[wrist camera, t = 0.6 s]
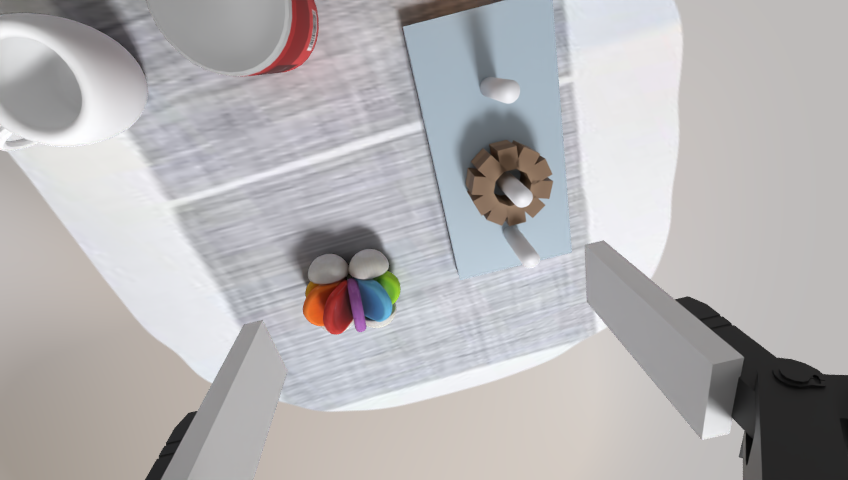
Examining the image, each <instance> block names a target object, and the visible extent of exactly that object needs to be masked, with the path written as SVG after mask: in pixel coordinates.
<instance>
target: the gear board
mask: <svg viewBox="0 0 848 480" xmlns="http://www.w3.org/2000/svg"><path fill="white" fill-rule="evenodd" d="M403 33H404V37H405V41H406V46H407V50H408V55H409V59H410V63H411V68H412V72H413V77H414V81H415V86H416V90H417V94H418V99H419V103H420V108H421V112H422V117H423V121H424V125H425V130H426V134H427V139H428V143H429V147H430V152H431V156H432V161H433V165H434V170H435V174H436V178H437V183H438V187H439V192H440V196H441V200H442V205H443V209H444V214H445V218H446V223H447V227H448V231H449V236H450V240H451V245H452V249H453V253H454V258H455V262H456V267H457V271H458V275H459V278H460V280H463V279H467V278H471V277H475V276H479V275H483V274H487V273H491V272H495V271H499V270H503V269H507V268H511V267H515V266H519V265H523V266H524V267H526V268H533V267H535V266H537V265H538V263H539V261H540V260H544V259H548V258H552V257H556V256H560V255H564V254H568V253H572V248H571V235H570V222H569V209H568V196H567V183H566V170H565V157H564V144H563V131H562V118H561V105H560V92H559V79H558V66H557V52H556V39H555V26H554V13H553V0H504V1H500V2H496V3H492V4H488V5H485V6H481V7H477V8H473V9H469V10H465V11H462V12H458V13H454V14H450V15H446V16H442V17H438V18H435V19H431V20H427V21H423V22H419V23H415V24H412V25H408V26H404V27H403ZM503 140H508V141H509V142H511V143H512V142H513V140H514V141H516V142H519V143H521V144H523V145H526V146H528V147H530V148H531V149H533V150H535V151H536V152H538V153H540V156H542V157H544V158H545V159H546V161H547V163H548V165H549V167H550V170H551V172H552V175H551V176H549V177H548V178H549V179H551V180H552V181H553V185H552V189H551V194H550V198H549V199H543V198H538V199H539V200H541V201H542V202H543V203H544V204H545V206H544V207H543V208H542V209H541V210H540V211H539V212H538V213H537V214H536V215H535V216H534V217H533V218H532V217H531V216H530V215H528V214H527V213H526V212H525V215H526V222H524V223H520V224H516V225H512V226H509V225H508V224H507V223H506V221H505V222H504V223H503V225H502V226H501V225H499V224H496V223H493V222H491V221H488V220H486V218H485V217H484V215H482V216H481V214H480V213H479V211H478V209H477V208H476V206H475V204H474V203H473V201H472V199H471V198H470V196H469V194H468V192H467V191H468V190H469V189H468V188H467V186H466V177H467V169H468V168H476V167H475V166H474V165H473V164H472V162H471V161H472V160H473V158H474V157H475V156H476V155H477V154H478V153H479V152H480V151H481V149H482V148H484V149H485V150H486V151H487V152H488V153H489V154H490V155H491V153H490V146H489V144H491V143H495V142H499V141H503ZM520 176H521V174H520V172H519V170H518V169H514V170H510V171H506V172H504V173H503V174H502V175H501V176H500V177H499V178H498V179H497V180H496V182H495V188H494V193H495V194H497V195H500V196H501V195H505V194H506V195H507V196H508V197H509V199H510V200H511V201H512V202H513V203H514V204H515V205H516V206H517V207H520V208H523V207H526V206H528V205H529V204H530V203H531V202H532V199H533V195H532V192H531V191H530V190H529V189H528V188H527V187H525V186H524V185H523V184H522V183H521V182H520Z"/></svg>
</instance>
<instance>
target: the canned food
mask: <svg viewBox="0 0 848 480" xmlns="http://www.w3.org/2000/svg"><path fill="white" fill-rule="evenodd" d="M146 3H147V6H148V9H149V11H150V13H151V15H152V17H153V19H154V21H155V23H156V25H157V27H158V28H159V30H160V31H161V33H162V34H163V35H164V37H165V38H166V40H167V41H168V42H169V43H170V44H171V45H172V46H173V47H174V48H175V49H176V50H177V51H178V52H179V53H180V54H181V55H183V56H184V57H185V58H186V59H188V60H189V61H190V62H192V63H194V64H195V65H197V66H199V67H201V68H203V69H205V70H208V71H211V72H214V73H217V74H221V75H226V76H234V77H237V76H253V75H262V74H272V73H281V72H287V71H290V70H293V69H295V68H297V67H298V66H300V65H302V64H303V63H304V62H305V61H306V60H307V59H308V57H309V56H310V54H311V53H312V51H313V49H314V46H315V44H316V41H317V36H318V14H317V8H316V5H315V2H314V0H146Z"/></svg>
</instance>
